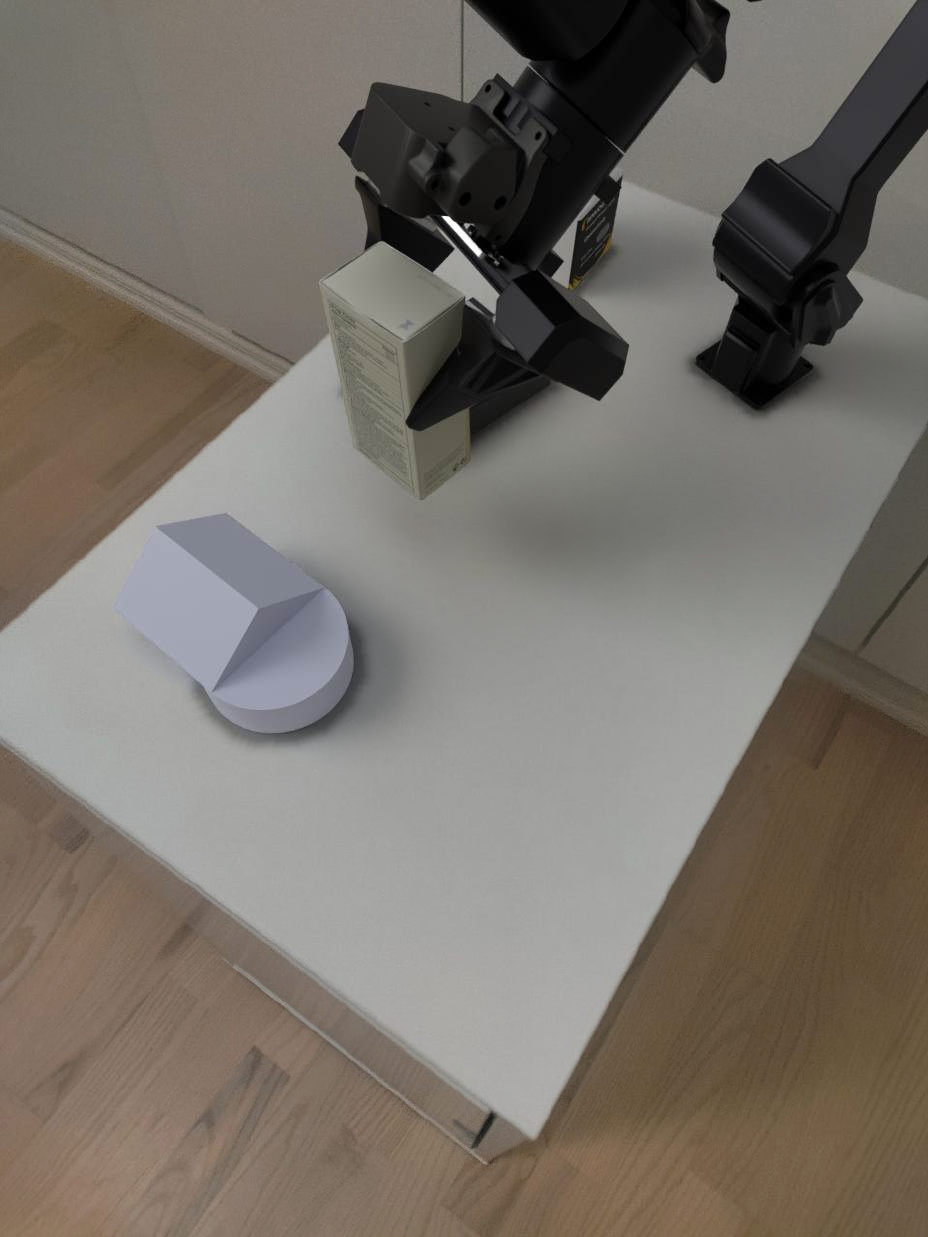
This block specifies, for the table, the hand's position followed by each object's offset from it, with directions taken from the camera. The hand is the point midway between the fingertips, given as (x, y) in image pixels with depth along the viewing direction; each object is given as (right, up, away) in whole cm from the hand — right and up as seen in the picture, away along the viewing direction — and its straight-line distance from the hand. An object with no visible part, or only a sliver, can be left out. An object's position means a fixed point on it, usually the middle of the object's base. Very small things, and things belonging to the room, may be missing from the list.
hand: (379, 383), depth 46 cm
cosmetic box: (+1, -3, +6) cm, 7 cm away
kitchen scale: (+3, +5, +19) cm, 20 cm away
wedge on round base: (-8, -14, +8) cm, 18 cm away
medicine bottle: (+12, +18, +26) cm, 34 cm away
